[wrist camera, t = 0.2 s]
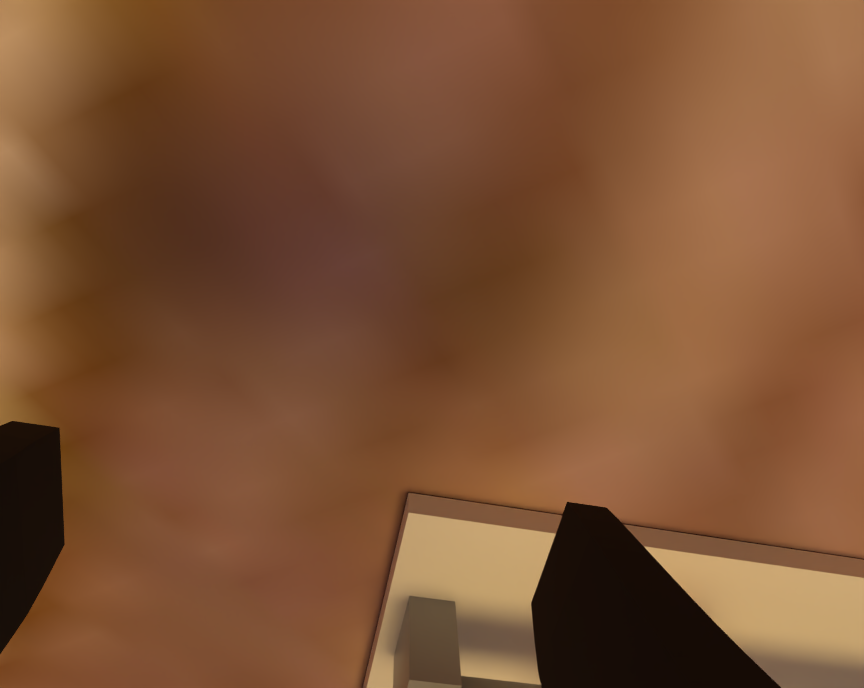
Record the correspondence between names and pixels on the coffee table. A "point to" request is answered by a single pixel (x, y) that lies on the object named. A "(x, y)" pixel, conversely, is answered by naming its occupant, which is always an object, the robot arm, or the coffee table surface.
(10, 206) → the coffee table surface
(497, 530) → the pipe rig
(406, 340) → the coffee table surface
